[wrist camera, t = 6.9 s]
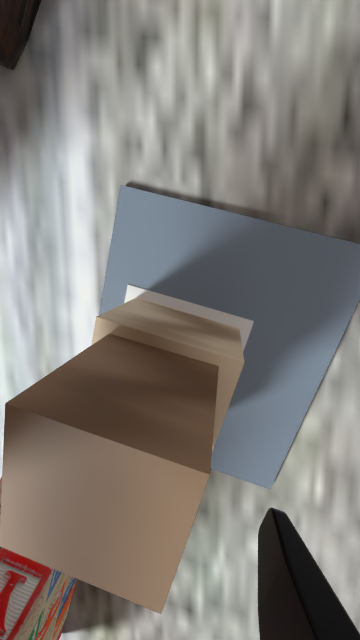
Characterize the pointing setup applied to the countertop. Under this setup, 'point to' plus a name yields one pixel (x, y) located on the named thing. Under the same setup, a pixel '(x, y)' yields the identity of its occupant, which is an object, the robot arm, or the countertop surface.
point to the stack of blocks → (32, 597)
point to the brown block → (110, 466)
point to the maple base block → (180, 341)
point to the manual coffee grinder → (15, 28)
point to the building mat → (242, 308)
